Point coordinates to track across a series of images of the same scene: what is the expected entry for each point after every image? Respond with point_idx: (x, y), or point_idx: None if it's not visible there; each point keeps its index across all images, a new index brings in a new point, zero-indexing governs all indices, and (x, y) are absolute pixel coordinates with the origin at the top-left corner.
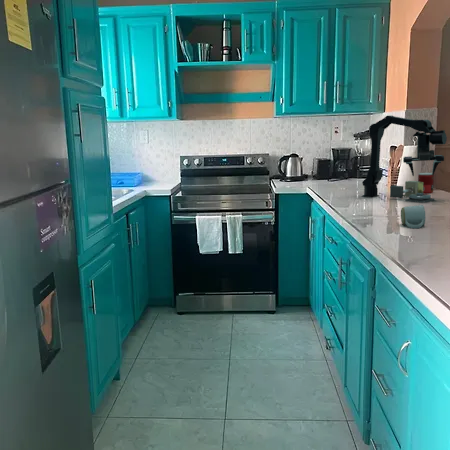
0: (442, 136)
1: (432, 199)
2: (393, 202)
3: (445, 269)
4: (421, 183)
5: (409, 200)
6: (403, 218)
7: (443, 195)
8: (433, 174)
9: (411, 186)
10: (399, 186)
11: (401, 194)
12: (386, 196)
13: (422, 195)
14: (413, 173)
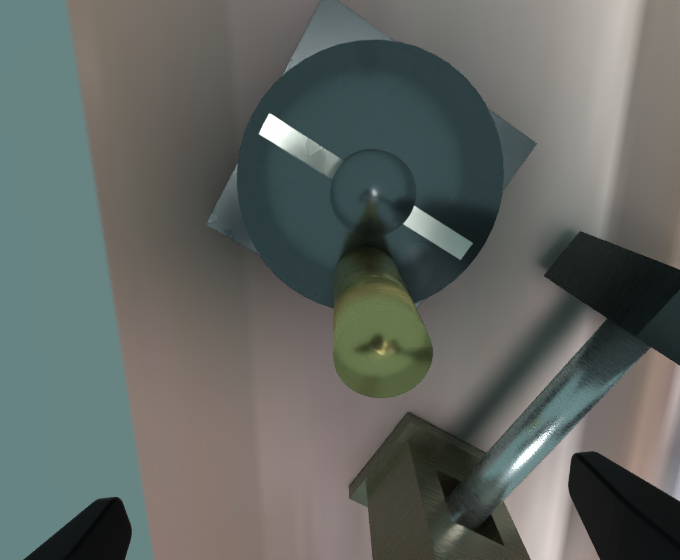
0: None
1: (226, 186)
2: (676, 19)
3: None
4: (364, 306)
5: None
6: None
7: (165, 529)
8: (76, 518)
9: (469, 539)
10: None
11: (588, 262)
12: (659, 454)
13: (337, 157)
14: (634, 502)
